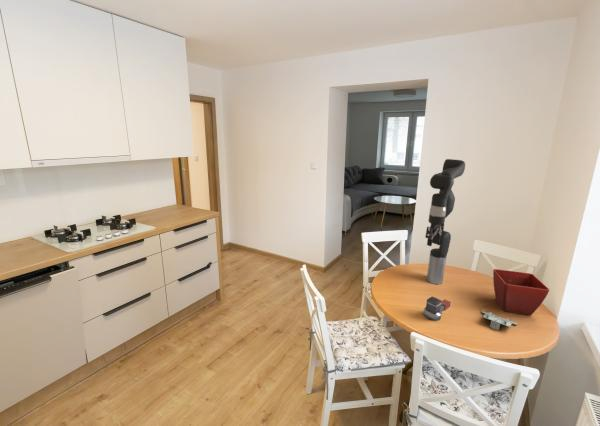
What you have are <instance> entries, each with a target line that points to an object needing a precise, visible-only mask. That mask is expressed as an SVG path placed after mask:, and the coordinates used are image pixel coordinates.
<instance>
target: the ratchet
mask: <svg viewBox="0 0 600 426" xmlns="http://www.w3.org/2000/svg"><path fill="white" fill-rule="evenodd" d="M441 301H442V303H441V309H440V312H438V313H437V314H436V315H434V314H432V313H430V312H428V311H426V306H425V307H424V308H423V316H424V318H426V319H427V320H430V321H434V322H439V321H440V320H441V319H442V313H443V312H444V311H446V310H448V309H449V308H450V307H451V303H452V302H451V301H449V300H447V299H443V300H441Z"/></svg>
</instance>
